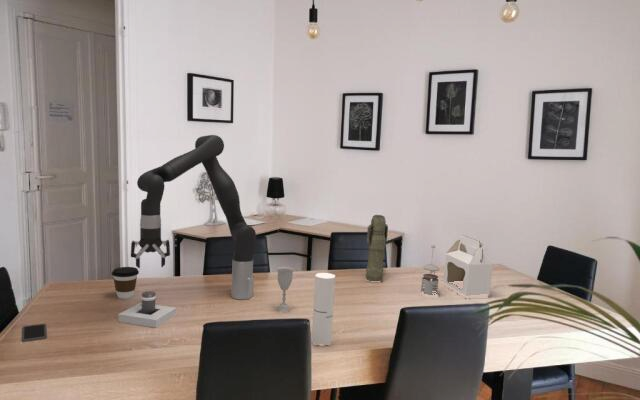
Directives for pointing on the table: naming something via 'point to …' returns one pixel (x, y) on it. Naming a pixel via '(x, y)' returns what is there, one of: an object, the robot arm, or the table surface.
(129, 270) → the coffee cup
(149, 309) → the lens
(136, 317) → the plate
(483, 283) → the gable box
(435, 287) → the french press
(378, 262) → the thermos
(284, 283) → the chalice
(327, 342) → the cylindrical container
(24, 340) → the cell phone
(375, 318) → the table surface
